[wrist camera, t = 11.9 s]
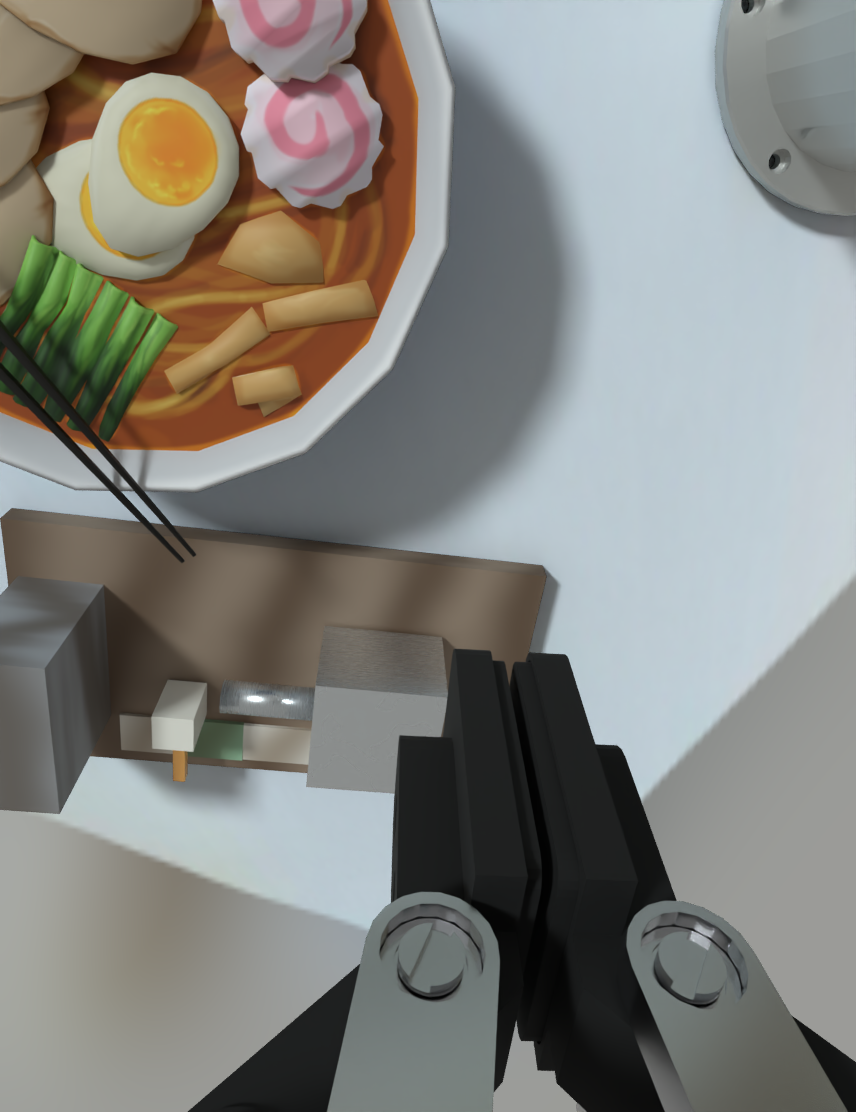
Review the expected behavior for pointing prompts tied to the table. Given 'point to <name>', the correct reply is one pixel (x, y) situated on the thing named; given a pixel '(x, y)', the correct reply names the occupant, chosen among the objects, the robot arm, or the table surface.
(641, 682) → the table surface
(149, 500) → the ramen bowl
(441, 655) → the gauge plunger
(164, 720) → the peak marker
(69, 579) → the bench
